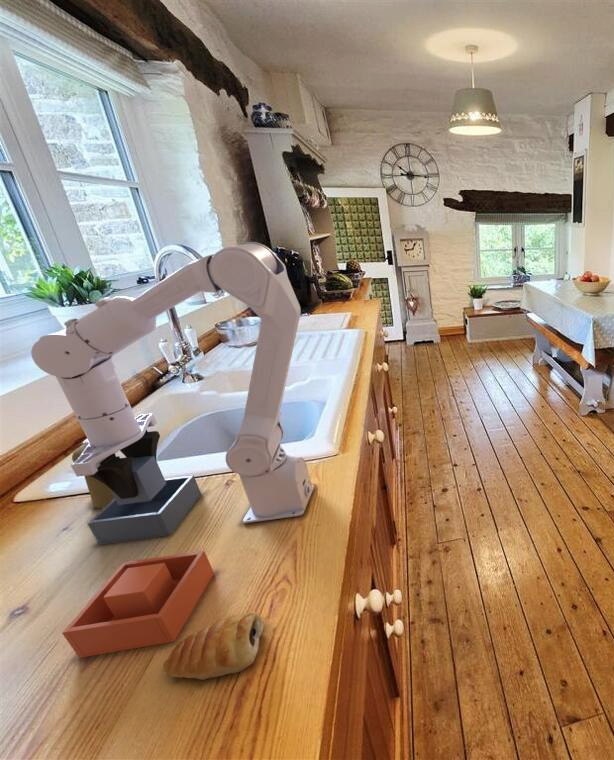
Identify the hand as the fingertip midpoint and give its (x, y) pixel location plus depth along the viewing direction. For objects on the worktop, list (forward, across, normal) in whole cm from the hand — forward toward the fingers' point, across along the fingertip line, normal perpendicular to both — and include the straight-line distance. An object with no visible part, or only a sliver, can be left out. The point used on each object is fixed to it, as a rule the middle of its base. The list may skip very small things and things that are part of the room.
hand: (140, 486), depth 64 cm
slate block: (+1, 0, 0) cm, 1 cm away
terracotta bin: (+8, +17, +8) cm, 21 cm away
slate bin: (+8, -3, -2) cm, 9 cm away
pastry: (+9, +25, +20) cm, 34 cm away
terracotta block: (+8, +17, +8) cm, 21 cm away
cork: (+9, -11, -13) cm, 19 cm away
